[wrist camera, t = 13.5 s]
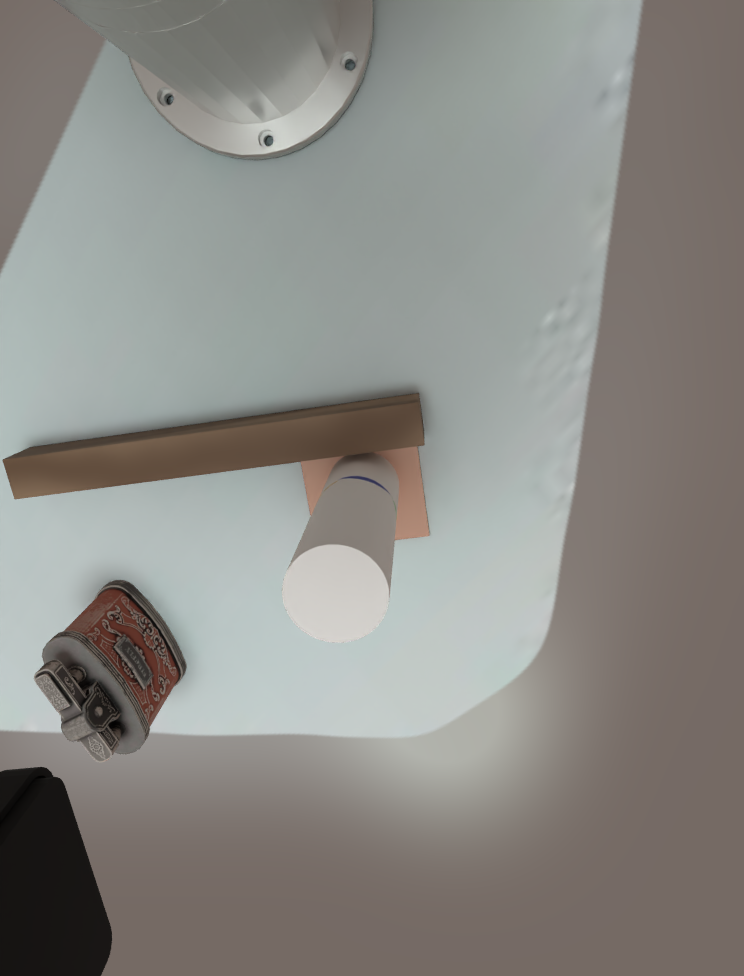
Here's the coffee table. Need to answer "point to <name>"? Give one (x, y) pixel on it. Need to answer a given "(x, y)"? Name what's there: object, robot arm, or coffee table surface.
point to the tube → (346, 552)
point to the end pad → (410, 488)
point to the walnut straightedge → (218, 446)
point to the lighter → (111, 671)
